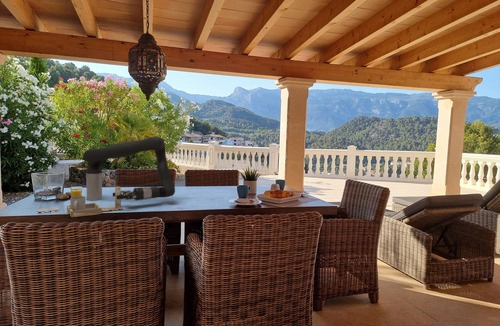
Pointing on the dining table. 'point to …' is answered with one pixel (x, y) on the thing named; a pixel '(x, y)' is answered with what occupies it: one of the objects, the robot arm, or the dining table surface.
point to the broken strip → (48, 209)
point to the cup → (77, 203)
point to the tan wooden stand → (96, 207)
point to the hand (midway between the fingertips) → (114, 196)
